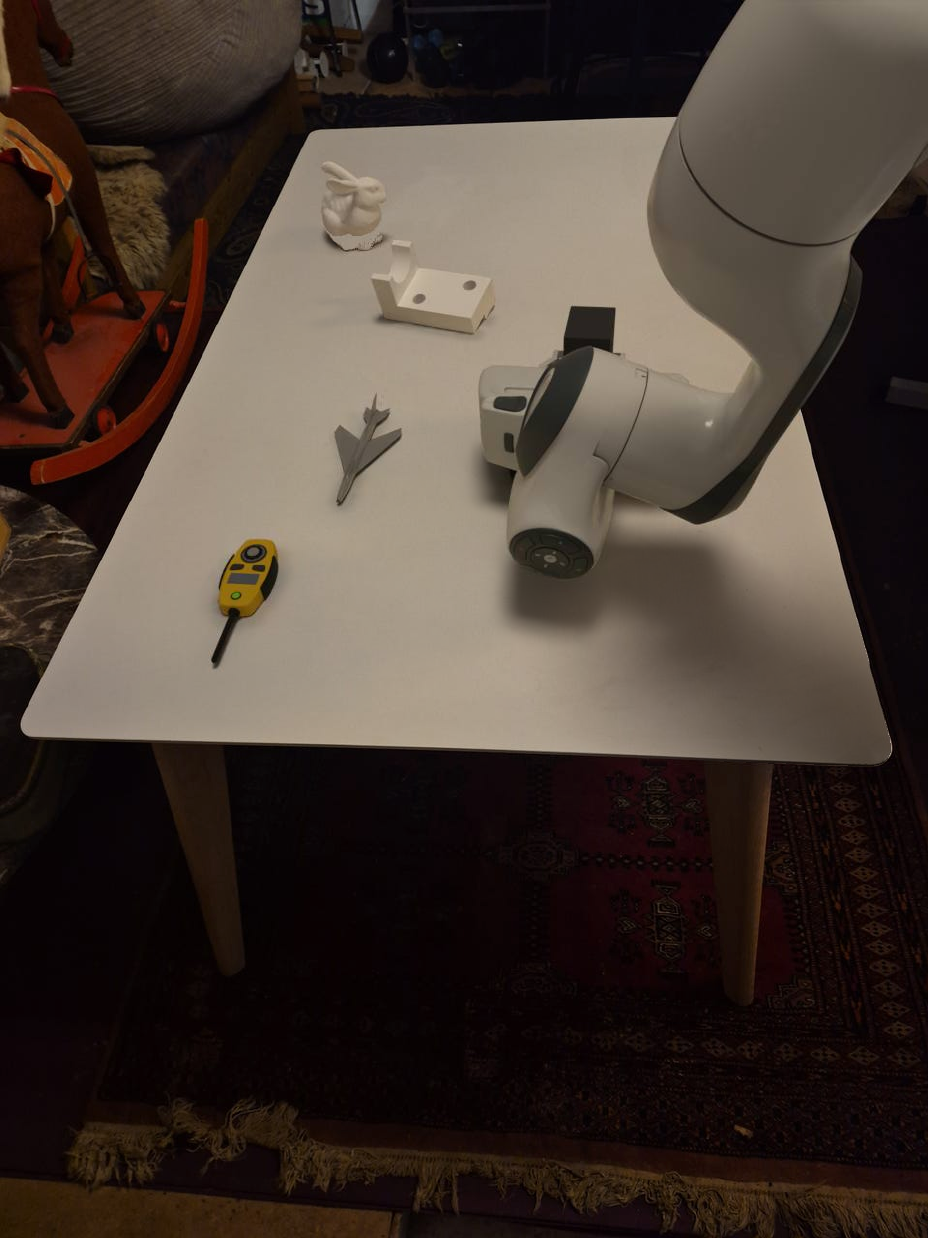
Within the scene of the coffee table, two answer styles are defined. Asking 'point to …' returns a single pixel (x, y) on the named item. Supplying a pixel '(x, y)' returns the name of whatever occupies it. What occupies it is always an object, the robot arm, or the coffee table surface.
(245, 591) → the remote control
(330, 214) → the rabbit
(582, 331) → the pad block
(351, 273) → the coffee table surface
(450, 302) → the bracket
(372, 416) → the toy airplane
